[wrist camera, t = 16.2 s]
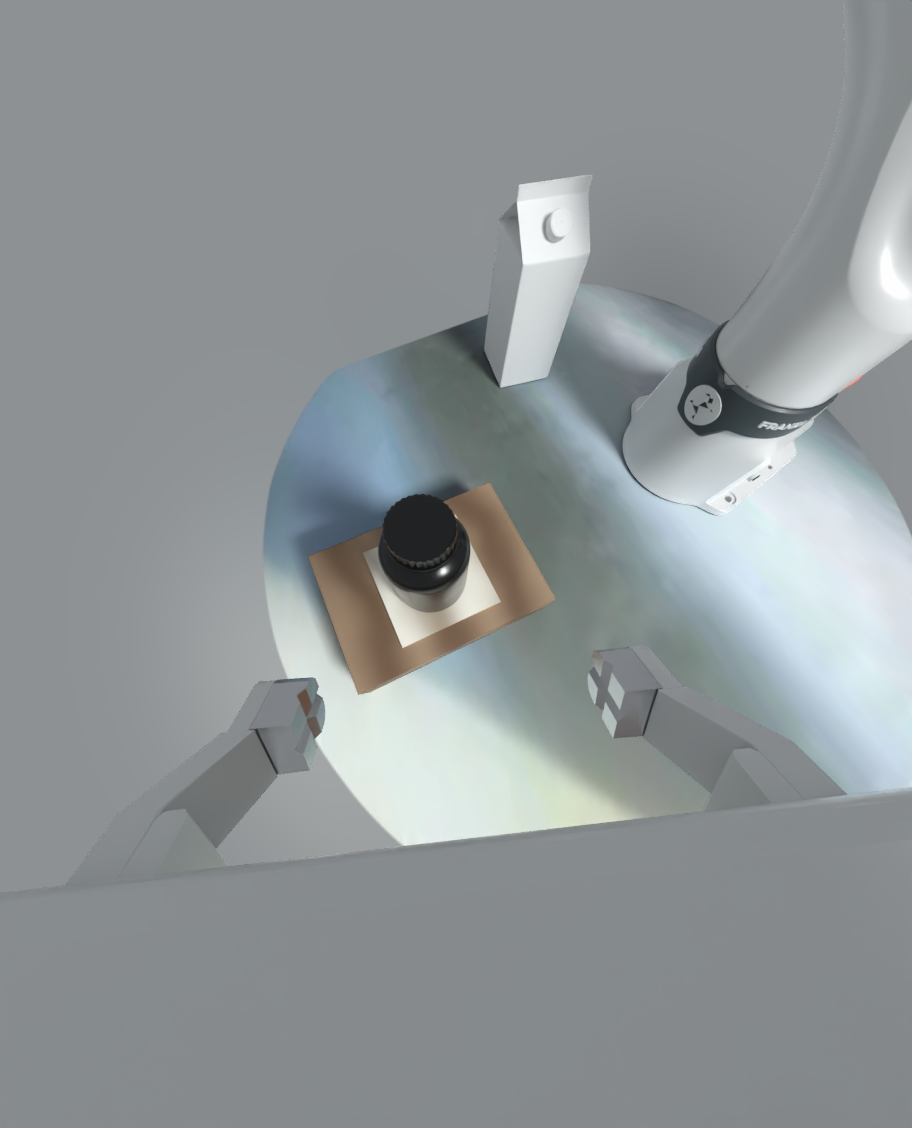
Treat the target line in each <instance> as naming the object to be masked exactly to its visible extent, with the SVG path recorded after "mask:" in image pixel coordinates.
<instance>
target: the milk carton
mask: <svg viewBox="0 0 912 1128" xmlns="http://www.w3.org/2000/svg"><path fill="white" fill-rule="evenodd" d="M592 177H593V176H592V174H590V175H583V176H576V177H570V178H563V179H556V180H549V181H543V182H536V183H529V184H522V185H519V187H518V193H517V200H516V202H515V203H514V204H513V205H512V206H511V207H510V208H509V209H508V210H507V211H506V212H505V213H504V215H503V216H502V217H501V218H500V219H499V228H498V235H497V244H496V252H495V261H494V270H493V278H492V287H491V295H490V304H489V312H488V320H487V328H486V337H485V345H484V351H485V353H486V356H487V358H488V360H489V363H490V365H491V367H492V370H493V372H494V374H495V377H496V379H497V381H498V384H499V386H500V387H506V386H511V385H515V384H520V383H524V382H529V381H533V380H538V379H543V378H546V377H547V376H548V374H549V371H550V368H551V365H552V362H553V359H554V356H555V353H556V351H557V348H558V345H559V342H560V339H561V336H562V333H563V330H564V327H565V324H566V321H567V318H568V315H569V312H570V310H571V307H572V304H573V301H574V298H575V295H576V292H577V289H578V286H579V283H580V280H581V277H582V274H583V271H584V269H585V265H586V263H587V260H588V256H589V253H590V227H589V197H588V190H589V187H590V183H591V180H592Z"/></svg>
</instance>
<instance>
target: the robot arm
mask: <svg viewBox="0 0 912 1128" xmlns="http://www.w3.org/2000/svg"><path fill="white" fill-rule="evenodd" d="M843 21H844V35H845V51H846V52H845V72H844V83H843V91H842V98H841V105H840V110H839V114H838V119H837V124H836V128H835V132H834V136H833V140H832V143H831V146H830V150H829V154H828V156H827V159H826V162H825V165H824V168H823V170H822V173H821V176H820V179H819V181H818V183H817V185H816V188H815V190H814V192H813V195H812V197H811V199H810V202H809V204H808V206H807V208H806V210H805V212H804V214H803V216H802V217H801V219H800V221H799V223H798V225H797V226H796V228H795V230H794V231H793V233H792V235H791V236H790V238H789V239H788V241H787V242H786V244H785V245H784V247H783V248H782V250H781V251H780V252H779V254H778V255H777V257H776V258H775V260H774V261H773V263H772V264H771V265H770V267H769V268H768V270H767V271H766V273H765V274H764V275H763V277H762V278H761V279H760V281H759V282H758V284H757V285H756V286H755V288H754V289H753V291H752V292H751V293H750V294H749V296H748V297H747V298H746V300H745V301H744V302H743V304H742V305H741V306H740V307H739V309H738V310H737V311H736V312H735V314H734V315H733V316H732V318H731V319H730V320H728V321H726V322H725V323H723V324H722V325H721V326H719V327H718V328H717V330H716V331H715V332H714V333H713V334H712V335H711V336H710V337H709V338H708V339H707V340H706V341H705V342H704V343H703V345H702V346H701V347H700V349H699V350H698V353H697V354H696V355H695V356H694V358H691V359H687V360H685V361H683V360H682V361H680V362H678V363H677V364H676V365H675V366H674V367H673V368H672V370H671V371H670V372H669V373H668V374H667V375H666V377H665V378H664V379H663V380H662V381H661V382H660V384H659V385H658V386H657V387H656V388H655V390H654V391H653V392H652V393H651V394H650V395H644V396H640V397H638V398H637V399H636V400H635V401H634V402H633V403H632V406H631V422H630V424H629V426H628V427H627V429H626V431H625V434H624V437H623V454H624V458H625V461H626V464H627V466H628V468H629V469H630V471H631V473H632V474H633V475H634V477H635V478H636V479H637V480H638V481H639V482H640V483H641V484H642V485H643V486H644V487H645V488H647V489H648V490H649V491H651V492H652V493H654V494H656V495H658V496H660V497H662V498H664V499H666V500H669V501H672V502H676V503H681V504H688V505H694V506H697V507H699V508H701V509H703V510H705V511H707V512H709V513H711V514H714V515H717V516H723V515H725V514H726V513H728V512H729V511H730V510H732V509H733V508H734V507H735V506H736V505H738V504H739V503H740V502H741V501H742V500H744V499H745V498H746V497H747V496H749V495H750V494H751V493H752V492H753V491H755V490H756V489H757V488H758V487H759V486H761V485H762V484H763V483H764V482H766V481H767V480H768V479H769V478H770V477H772V476H773V475H774V474H775V473H776V472H778V471H779V470H780V469H781V468H783V467H784V466H785V465H786V464H787V463H789V462H790V461H791V460H792V459H793V458H794V457H795V456H796V448H795V444H794V442H793V440H794V439H795V438H797V437H798V436H799V435H801V434H802V433H803V432H804V431H806V430H807V429H808V428H809V427H811V426H812V424H813V422H814V418H815V417H816V416H818V415H819V414H820V413H821V412H822V411H823V410H825V408H826V407H827V406H828V405H829V404H830V403H832V402H833V401H834V399H835V398H836V397H837V395H838V393H839V392H840V391H841V390H843V389H845V388H846V387H848V386H850V385H851V384H853V383H854V382H856V381H857V380H858V379H860V378H861V377H862V375H863V374H865V373H866V372H867V371H869V370H870V369H871V368H873V367H874V366H876V365H877V364H878V363H879V362H881V361H882V360H884V359H885V358H887V357H888V356H889V355H891V354H892V353H894V352H895V351H896V350H898V349H899V348H901V347H902V346H903V345H905V344H906V343H907V342H909V341H910V340H912V0H844V8H843ZM591 662H592V664H593V666H594V667H593V668H592V669H591V670H590V671H589V674H588V687H589V692H590V695H591V697H592V699H593V701H594V703H595V705H597V706H598V707H599V708H601V709H602V710H603V715H602V719H603V720H604V722H605V724H606V726H607V728H608V730H609V732H610V733H611V735H612V737H613V738H625V737H638V736H644V737H643V738H644V739H645V740H647V741H648V742H649V743H650V744H652V745H653V746H654V747H655V748H656V749H658V750H659V751H660V752H661V753H663V754H664V755H665V756H666V757H667V758H669V759H670V760H671V761H672V762H674V763H675V764H676V765H677V766H678V767H680V768H681V769H682V770H683V771H685V772H686V773H687V774H688V775H689V776H691V777H692V778H693V779H694V780H695V781H697V782H698V783H699V784H700V785H702V786H703V787H704V788H705V789H706V790H708V791H709V792H710V793H711V795H710V797H709V799H708V801H707V803H706V805H705V807H704V810H703V811H702V812H694V813H685V814H677V815H668V816H659V817H651V818H642V819H633V820H625V821H616V822H607V823H599V824H590V825H581V826H573V827H564V828H555V829H547V830H538V831H529V832H520V833H512V834H503V835H494V836H486V837H477V838H469V839H460V840H452V841H443V842H434V843H426V844H417V845H409V846H400V847H392V848H384V849H374V850H366V851H357V852H349V853H340V854H331V855H323V856H314V857H305V858H297V859H288V860H279V861H271V862H262V863H254V864H245V865H237V866H228V864H227V862H226V861H225V860H224V858H223V857H222V856H221V854H220V853H219V852H218V851H217V849H216V848H217V847H218V846H219V845H220V844H221V842H222V841H223V840H224V839H225V838H226V836H227V835H228V834H229V833H230V832H231V831H232V829H233V828H234V827H235V826H236V825H237V823H238V822H239V821H240V820H241V819H242V818H243V816H244V815H245V814H246V813H247V812H248V811H249V809H250V808H251V807H252V806H253V805H254V804H255V802H256V801H257V800H258V799H259V798H260V797H261V795H262V794H263V793H264V792H265V791H266V789H267V788H268V787H269V786H270V785H271V784H272V782H273V781H274V780H275V779H276V778H277V775H278V774H285V773H292V772H300V771H308V770H310V768H311V765H312V761H313V758H314V755H315V752H316V749H317V745H316V743H315V740H314V739H315V738H316V737H317V736H318V735H319V734H320V733H321V732H322V729H323V725H324V720H325V706H324V701H323V698H322V697H320V696H319V695H318V694H316V693H317V690H318V687H319V686H318V684H317V681H316V679H315V678H297V679H284V680H275V681H260V682H258V683H257V684H256V685H255V686H254V687H253V689H252V691H251V692H250V694H249V696H248V698H247V699H246V701H245V703H244V704H243V706H242V708H241V710H240V711H239V713H238V715H237V716H236V718H235V720H234V722H233V724H232V725H231V727H230V729H229V730H228V732H226V733H221V734H220V735H218V736H217V737H216V738H214V739H213V740H212V741H211V742H209V743H208V744H207V745H205V746H204V747H203V748H202V749H200V750H199V751H198V752H197V753H195V754H194V755H193V756H191V757H190V758H189V759H187V760H186V761H185V762H184V763H182V764H181V765H180V766H178V767H177V768H176V769H175V770H173V771H172V772H171V773H169V774H168V775H167V776H166V777H164V778H163V779H162V780H160V781H159V782H158V783H157V784H155V785H154V786H153V787H151V788H150V789H149V790H148V791H146V792H145V793H144V794H142V795H141V796H140V797H138V798H137V799H136V800H135V801H133V802H132V803H131V804H130V805H128V806H127V807H126V808H125V809H123V810H122V811H120V812H119V813H118V814H117V815H116V816H115V818H114V819H113V821H112V822H111V823H110V825H109V826H108V827H107V829H106V830H105V831H104V833H103V834H102V836H101V837H100V838H99V840H98V841H97V842H96V844H95V845H94V846H93V848H92V849H91V851H90V852H89V853H88V855H87V856H86V857H85V859H84V860H83V862H82V863H81V864H80V866H79V867H78V868H77V870H76V871H75V873H74V874H73V875H72V877H71V878H70V879H69V881H68V882H67V884H66V885H63V886H54V887H45V888H37V889H28V890H19V891H10V892H2V893H0V1128H912V787H909V788H901V789H892V790H883V791H875V792H866V793H857V794H849V795H847V794H846V793H845V792H844V791H843V790H842V789H841V788H840V787H839V786H838V785H837V784H836V783H835V782H834V781H833V780H832V779H831V778H830V777H829V776H828V775H827V774H826V773H825V772H824V771H823V770H822V769H820V768H819V767H818V766H817V765H816V764H815V763H814V762H813V761H812V760H811V759H810V758H809V757H808V756H807V755H806V754H805V753H804V752H803V751H802V750H801V749H800V748H799V747H798V746H797V745H796V744H795V743H794V742H792V741H790V740H789V739H787V738H785V737H783V736H781V735H779V734H777V733H775V732H773V731H771V730H769V729H768V728H766V727H764V726H762V725H760V724H758V723H756V722H754V721H752V720H750V719H749V718H747V717H745V716H743V715H741V714H739V713H737V712H735V711H733V710H731V709H730V708H728V707H726V706H724V705H722V704H720V703H718V702H716V701H714V700H712V699H710V698H709V697H707V696H705V695H703V694H701V693H699V692H697V691H695V690H693V689H691V688H690V687H682V686H681V685H680V683H679V682H678V681H677V680H676V679H675V678H674V676H673V675H672V674H671V673H670V672H669V671H668V669H667V668H666V667H665V666H664V665H663V664H662V662H661V661H660V660H659V659H658V658H657V657H656V655H655V654H654V653H653V652H652V651H651V650H650V649H649V648H648V647H647V646H645V645H644V646H634V647H627V648H616V649H606V650H597V651H594V652H593V653H592V657H591Z"/></svg>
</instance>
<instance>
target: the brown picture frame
mask: <svg viewBox="0 0 912 1128" xmlns="http://www.w3.org/2000/svg"><path fill="white" fill-rule="evenodd" d="M443 502H444V503H445V504H447V505H448V506H449V508H450V509H451V510H452V511H453V514H454V515H455V517H456V518H457V519H458V520H459V521H460V522H461V523H462V525H463V526H464V528H465V529H466V531H467V534H468V537H469V540H470V560H469V567H468V573H467V580H466V584H465V588H464V591H463V593H462V594H461V596H460V598H459V599H458V600H457V601H456V602H455V603H454V604H453V605H452V606H450V607H449V608H447V609H445V610H442V611H439V612H433V613H427V612H421V611H417V610H415V609H413V608H411V607H410V606H408V605H407V604H406V603H405V602H404V601H403V600H402V599H401V598H400V597H399V595H398V594H397V592H396V591H395V589H394V587H393V586H392V584H391V583H390V581H389V580H388V578H387V577H386V575H385V573H384V572H383V569H382V567H381V565H380V562H379V557H378V544H379V540H380V536H381V534H382V532H383V526H382V527H379V528H377V529H374V530H372V531H369V532H367V533H365V534H362V535H360V536H357V537H355V538H352V539H350V540H347V541H345V542H342V543H340V544H337V545H335V546H333V547H330V548H328V549H325V550H323V551H320V552H318V553H315V554H313V555H310V556H308V558H309V561H310V563H311V566H312V569H313V572H314V574H315V577H316V580H317V583H318V585H319V588H320V591H321V594H322V596H323V599H324V602H325V605H326V607H327V610H328V613H329V615H330V618H331V621H332V624H333V626H334V629H335V632H336V635H337V637H338V640H339V643H340V646H341V648H342V651H343V654H344V657H345V659H346V662H347V665H348V668H349V670H350V673H351V676H352V679H353V681H354V684H355V687H356V690H357V692H358V695H359V694H364V693H368V692H372V691H374V690H376V689H378V688H380V687H382V686H384V685H386V684H388V683H390V682H392V681H394V680H396V679H398V678H400V677H402V676H404V675H407V674H409V673H411V672H413V671H415V670H417V669H419V668H421V667H423V666H425V665H427V664H429V663H431V662H433V661H435V660H437V659H439V658H441V657H444V656H446V655H448V654H450V653H452V652H454V651H456V650H458V649H460V648H462V647H464V646H466V645H468V644H470V643H472V642H474V641H476V640H479V639H481V638H483V637H485V636H487V635H489V634H491V633H493V632H495V631H497V630H499V629H501V628H503V627H505V626H507V625H509V624H511V623H513V622H516V621H518V620H520V619H522V618H524V617H526V616H528V615H530V614H532V613H534V612H536V611H538V610H540V609H542V608H544V607H545V606H546V605H548V604H549V603H551V602H552V601H554V600H555V597H554V595H553V593H552V592H551V590H550V588H549V586H548V585H547V583H546V581H545V579H544V578H543V576H542V574H541V572H540V571H539V569H538V567H537V565H536V563H535V562H534V560H533V558H532V556H531V555H530V553H529V551H528V549H527V548H526V546H525V544H524V542H523V541H522V539H521V537H520V535H519V534H518V532H517V530H516V528H515V527H514V525H513V523H512V521H511V520H510V518H509V516H508V514H507V513H506V511H505V509H504V507H503V506H502V504H501V502H500V500H499V499H498V497H497V495H496V493H495V491H494V490H493V488H492V486H491V484H490V483H487V484H485V485H483V486H480V487H478V488H475V489H473V490H470V491H468V492H465V493H463V494H460V495H458V496H455V497H453V498H451V499H448V500H446V501H443Z"/></svg>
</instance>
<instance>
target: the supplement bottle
mask: <svg viewBox="0 0 912 1128" xmlns="http://www.w3.org/2000/svg"><path fill="white" fill-rule="evenodd" d="M378 557H379V562H380V565H381V567H382V569H383V572H384V573H385V575H386V577H387V578H388V580H389V581H390V583H391V584H392V586H393V587H394V589H395V591H396V592H397V594H398V595H399V597H400V598H401V599H402V600H403V601H404V602H405V603H406V604H407V605H408V606H410V607H411V608H413V609H415V610H417V611H421V612H427V613H433V612H439V611H442V610H445V609H447V608H449V607H450V606H452V605H453V604H454V603H455V602H456V601H457V600H458V599H459V598H460V596H461V594H462V593H463V591H464V588H465V584H466V580H467V573H468V567H469V560H470V540H469V537H468V534H467V531H466V529H465V528H464V526H463V525H462V523H461V522H460V521H459V520H458V519H457V518H456V517H455V515H454V514H453V511H452V510H451V509H450V508H449V506H448V505H447V504H445V503H444V502H443V501H442V500H439V499H438V498H437V497H432V496H431V495H424V494H421V495H417V494H415V495H413V496H408V497H407V498H403V499H401V500H400V501H398V502H396V503H395V505H394V506H392V507H391V509H390V510H389V511H388V512H387V516H386V517H385V518H384V524H383V532H382V534H381V536H380V540H379V544H378Z"/></svg>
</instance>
